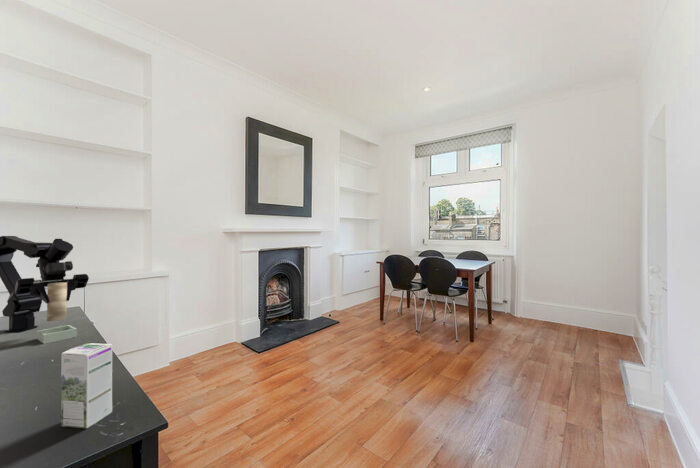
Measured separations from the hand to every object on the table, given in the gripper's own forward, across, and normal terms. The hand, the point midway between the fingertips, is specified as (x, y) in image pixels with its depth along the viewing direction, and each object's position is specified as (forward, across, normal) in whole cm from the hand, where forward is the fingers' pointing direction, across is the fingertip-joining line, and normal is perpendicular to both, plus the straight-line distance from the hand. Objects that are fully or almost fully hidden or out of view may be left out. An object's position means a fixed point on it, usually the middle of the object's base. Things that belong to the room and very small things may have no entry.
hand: (58, 301), depth 106 cm
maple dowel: (+4, 0, +6) cm, 7 cm away
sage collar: (+8, 0, +10) cm, 14 cm away
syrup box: (+58, -10, -40) cm, 72 cm away
